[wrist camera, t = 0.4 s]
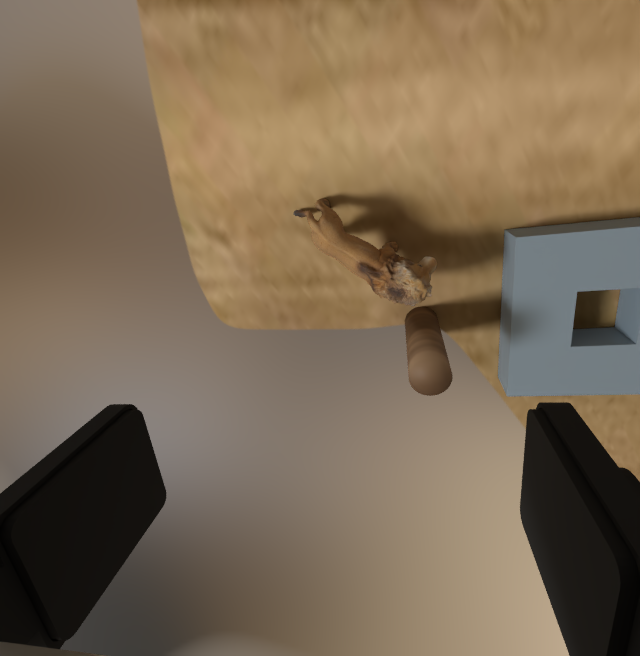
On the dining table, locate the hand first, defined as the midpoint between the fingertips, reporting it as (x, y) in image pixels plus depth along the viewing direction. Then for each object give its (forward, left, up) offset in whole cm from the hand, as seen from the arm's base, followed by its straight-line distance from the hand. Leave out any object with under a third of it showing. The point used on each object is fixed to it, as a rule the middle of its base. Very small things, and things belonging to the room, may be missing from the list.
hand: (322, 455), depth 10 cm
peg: (+10, +4, -34) cm, 36 cm away
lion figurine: (+1, -1, -34) cm, 34 cm away
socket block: (+9, +20, -34) cm, 40 cm away
